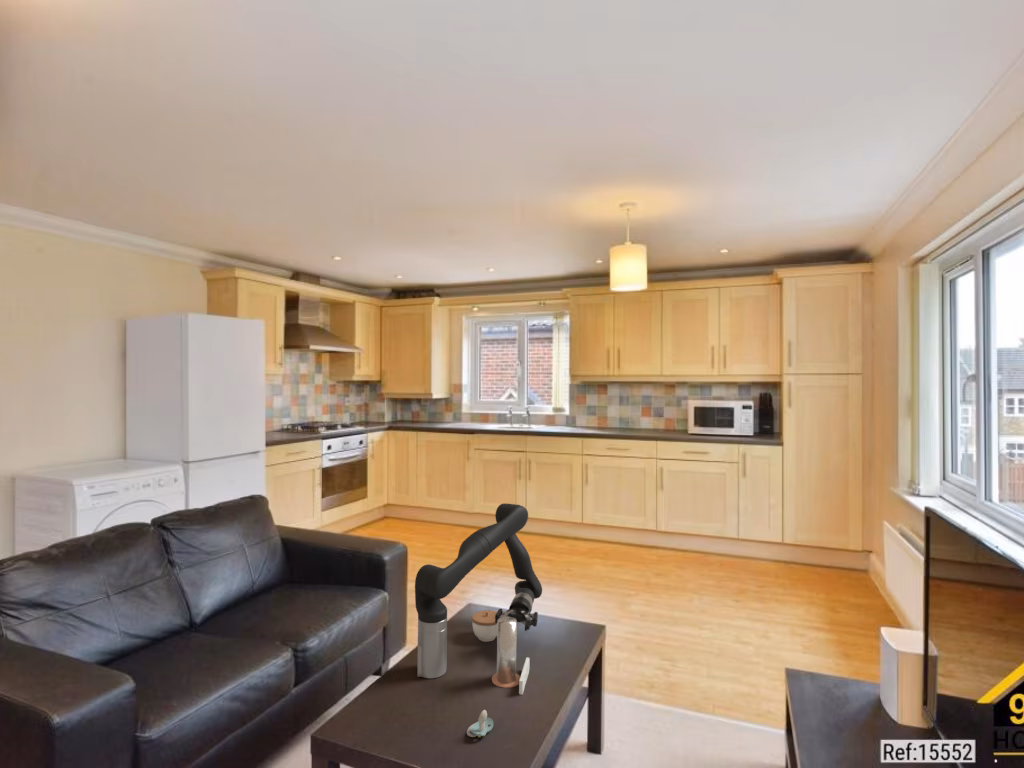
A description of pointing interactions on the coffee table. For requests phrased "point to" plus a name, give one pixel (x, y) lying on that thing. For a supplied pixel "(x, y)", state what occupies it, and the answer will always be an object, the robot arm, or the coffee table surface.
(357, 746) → the coffee table surface
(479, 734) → the pacifier
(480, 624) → the lidded jar
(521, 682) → the acrylic wall
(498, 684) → the terracotta coaster
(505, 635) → the metal tin
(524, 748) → the coffee table surface
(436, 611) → the robot arm
